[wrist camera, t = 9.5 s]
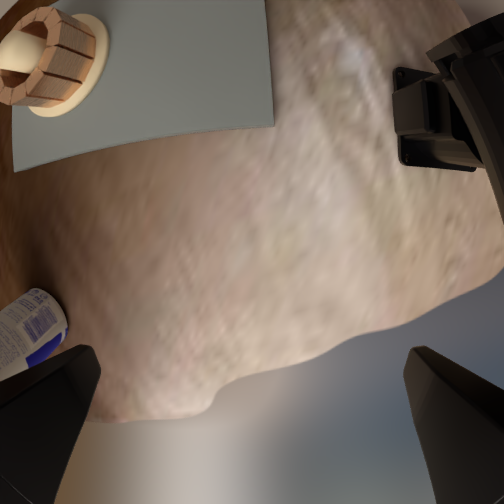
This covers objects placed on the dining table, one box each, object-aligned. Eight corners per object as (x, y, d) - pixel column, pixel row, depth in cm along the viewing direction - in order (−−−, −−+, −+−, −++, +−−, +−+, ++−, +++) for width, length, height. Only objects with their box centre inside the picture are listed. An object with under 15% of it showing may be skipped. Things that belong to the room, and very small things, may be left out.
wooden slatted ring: (99, 11, 12) (67, -10, 8) (94, 91, 14) (55, 82, 10) (33, 43, 13) (-1, 33, 9) (28, 117, 15) (-11, 117, 11)
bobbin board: (259, -47, 12) (252, -109, 5) (273, 127, 16) (275, 107, 9) (30, 25, 13) (-23, 8, 7) (23, 170, 18) (-42, 184, 11)
